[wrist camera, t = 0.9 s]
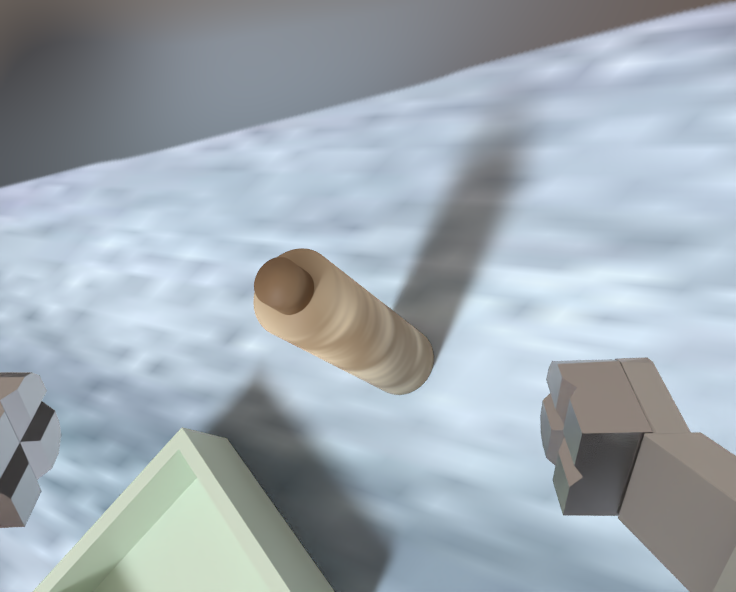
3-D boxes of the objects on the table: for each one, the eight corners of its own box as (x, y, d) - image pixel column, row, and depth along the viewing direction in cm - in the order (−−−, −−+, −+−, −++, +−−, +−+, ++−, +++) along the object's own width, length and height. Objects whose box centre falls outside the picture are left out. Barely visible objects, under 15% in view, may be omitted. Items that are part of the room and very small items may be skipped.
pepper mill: (402, 314, 47) (281, 218, 33) (447, 357, 44) (336, 272, 31) (357, 363, 47) (219, 287, 34) (399, 409, 44) (268, 346, 31)
